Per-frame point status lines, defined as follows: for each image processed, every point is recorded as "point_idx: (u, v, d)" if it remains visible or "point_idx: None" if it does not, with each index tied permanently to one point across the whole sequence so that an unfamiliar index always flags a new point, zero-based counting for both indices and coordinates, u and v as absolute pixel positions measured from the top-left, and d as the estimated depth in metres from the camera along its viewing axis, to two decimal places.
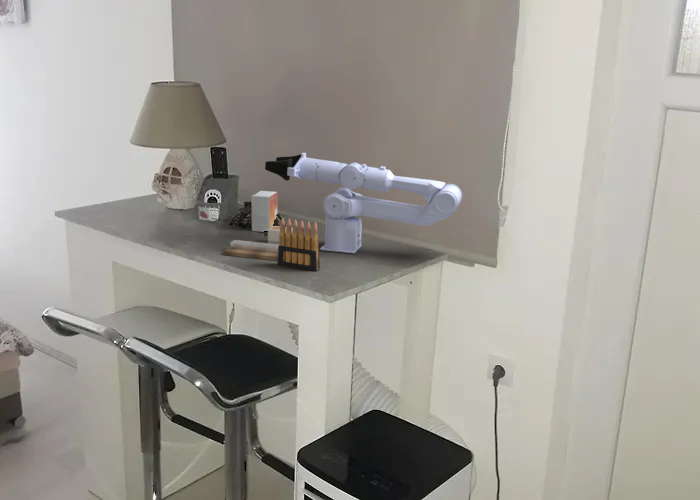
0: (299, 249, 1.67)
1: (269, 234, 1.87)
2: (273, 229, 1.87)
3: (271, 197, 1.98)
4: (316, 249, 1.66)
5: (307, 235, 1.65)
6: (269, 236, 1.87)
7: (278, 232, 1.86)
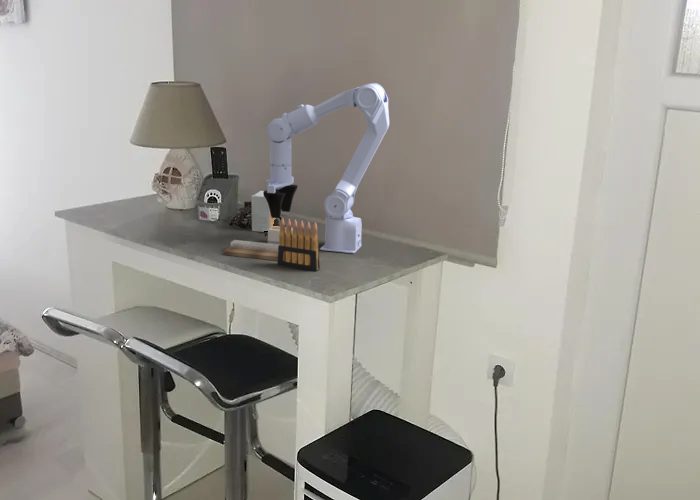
0: (299, 249, 1.67)
1: (269, 234, 1.87)
2: (273, 229, 1.87)
3: None
4: (316, 249, 1.66)
5: (307, 235, 1.65)
6: (269, 236, 1.87)
7: (278, 232, 1.86)
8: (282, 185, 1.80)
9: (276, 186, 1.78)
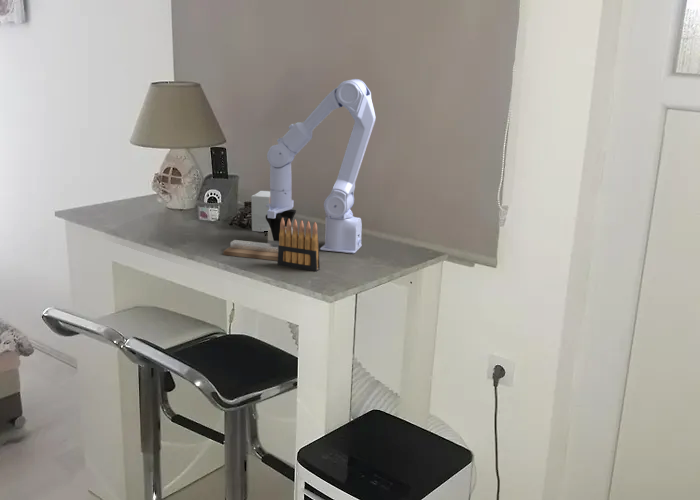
0: (299, 249, 1.67)
1: (269, 234, 1.87)
2: None
3: None
4: (316, 249, 1.66)
5: (307, 235, 1.65)
6: (269, 236, 1.87)
7: None
8: (282, 210, 1.82)
9: (276, 211, 1.80)
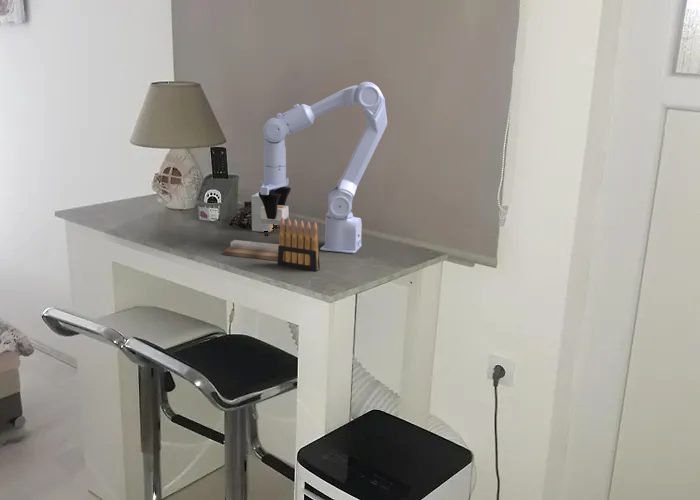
0: (299, 249, 1.67)
1: (262, 212, 1.81)
2: None
3: None
4: (316, 249, 1.66)
5: (307, 235, 1.65)
6: (262, 214, 1.81)
7: None
8: (276, 187, 1.76)
9: (269, 188, 1.75)
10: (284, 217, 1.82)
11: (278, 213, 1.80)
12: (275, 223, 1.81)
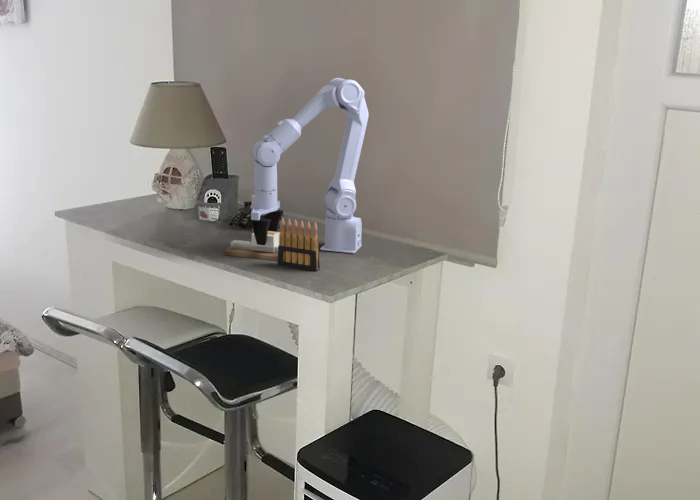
0: (299, 249, 1.67)
1: (253, 239, 1.77)
2: None
3: None
4: (316, 249, 1.66)
5: (307, 235, 1.65)
6: (253, 241, 1.77)
7: None
8: (267, 211, 1.72)
9: (261, 213, 1.70)
10: (275, 244, 1.77)
11: (269, 240, 1.76)
12: (266, 250, 1.77)
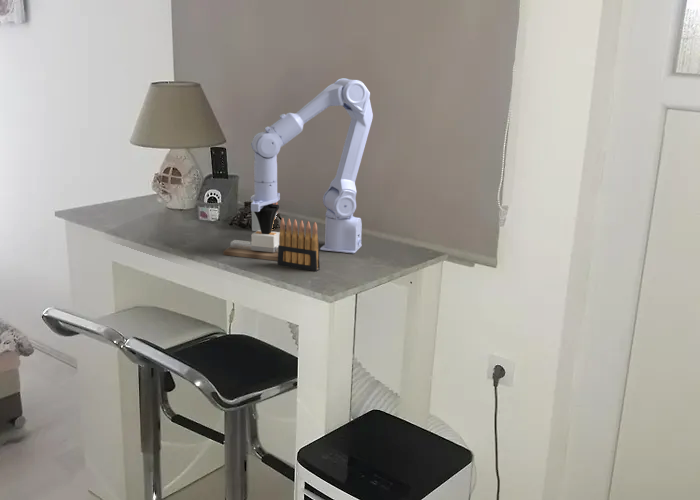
0: (299, 249, 1.67)
1: (253, 239, 1.77)
2: (257, 234, 1.77)
3: None
4: (316, 249, 1.66)
5: (307, 235, 1.65)
6: (253, 241, 1.77)
7: (262, 237, 1.76)
8: (267, 203, 1.71)
9: (260, 204, 1.69)
10: (275, 244, 1.77)
11: (269, 240, 1.76)
12: (266, 250, 1.77)
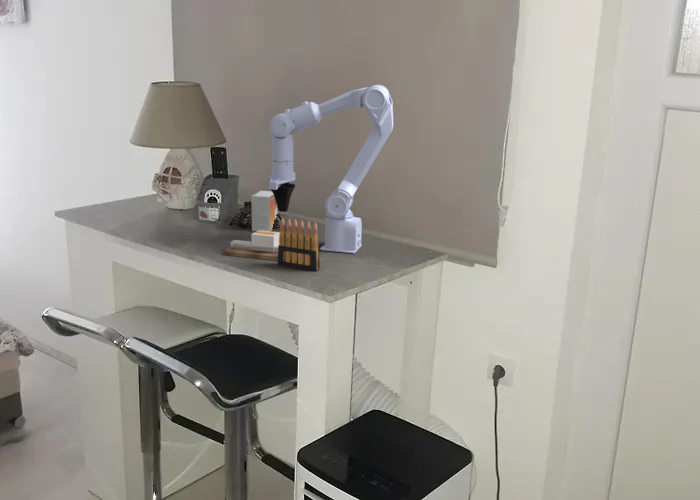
0: (299, 249, 1.67)
1: (253, 239, 1.77)
2: (257, 234, 1.77)
3: (271, 197, 1.98)
4: (316, 249, 1.66)
5: (307, 235, 1.65)
6: (253, 241, 1.77)
7: (262, 237, 1.76)
8: (284, 181, 1.79)
9: (278, 182, 1.77)
10: (275, 244, 1.77)
11: (269, 240, 1.76)
12: (266, 250, 1.77)
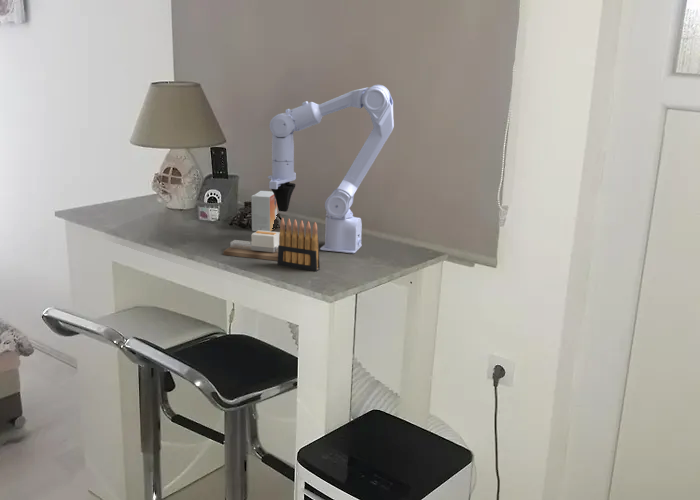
0: (299, 249, 1.67)
1: (253, 239, 1.77)
2: (257, 234, 1.77)
3: (271, 197, 1.98)
4: (316, 249, 1.66)
5: (307, 235, 1.65)
6: (253, 241, 1.77)
7: (262, 237, 1.76)
8: (284, 181, 1.79)
9: (278, 182, 1.77)
10: (275, 244, 1.77)
11: (269, 240, 1.76)
12: (266, 250, 1.77)
